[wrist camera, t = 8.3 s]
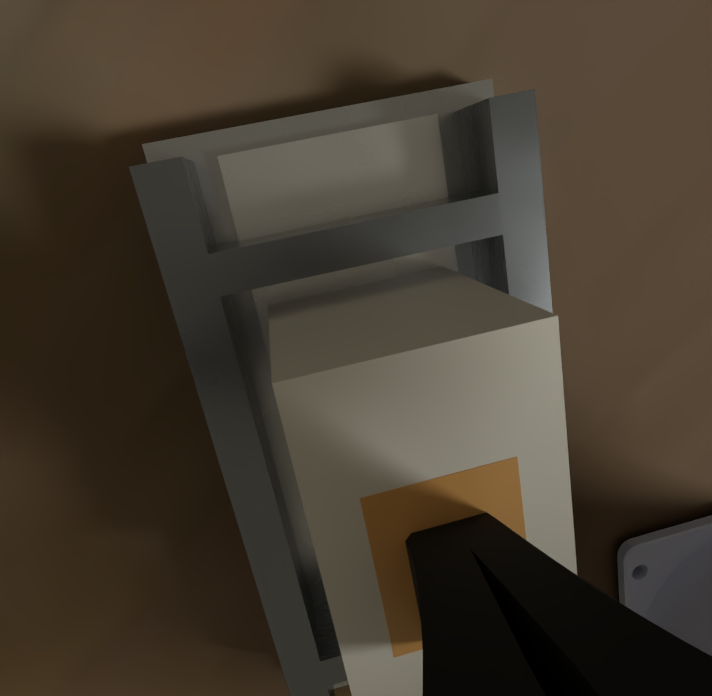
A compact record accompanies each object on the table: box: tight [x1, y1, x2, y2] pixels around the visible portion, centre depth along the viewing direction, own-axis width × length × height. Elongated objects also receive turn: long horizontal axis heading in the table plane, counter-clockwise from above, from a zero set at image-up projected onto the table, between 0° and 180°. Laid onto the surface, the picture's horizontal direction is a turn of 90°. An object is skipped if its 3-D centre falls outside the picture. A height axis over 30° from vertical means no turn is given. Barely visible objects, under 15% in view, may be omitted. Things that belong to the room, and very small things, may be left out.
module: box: [268, 267, 577, 696], centre depth 11 cm, size 7×4×5 cm, turn 11°
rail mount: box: [129, 79, 552, 696], centre depth 13 cm, size 15×7×3 cm, turn 11°
